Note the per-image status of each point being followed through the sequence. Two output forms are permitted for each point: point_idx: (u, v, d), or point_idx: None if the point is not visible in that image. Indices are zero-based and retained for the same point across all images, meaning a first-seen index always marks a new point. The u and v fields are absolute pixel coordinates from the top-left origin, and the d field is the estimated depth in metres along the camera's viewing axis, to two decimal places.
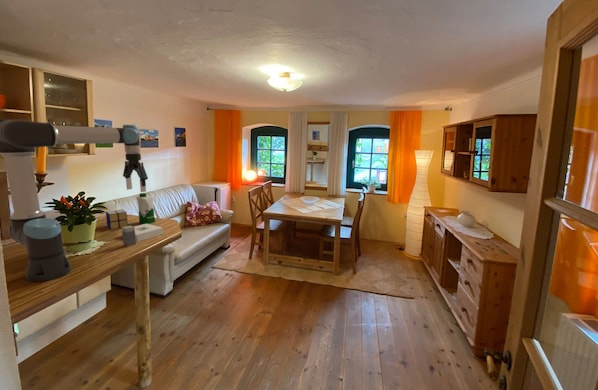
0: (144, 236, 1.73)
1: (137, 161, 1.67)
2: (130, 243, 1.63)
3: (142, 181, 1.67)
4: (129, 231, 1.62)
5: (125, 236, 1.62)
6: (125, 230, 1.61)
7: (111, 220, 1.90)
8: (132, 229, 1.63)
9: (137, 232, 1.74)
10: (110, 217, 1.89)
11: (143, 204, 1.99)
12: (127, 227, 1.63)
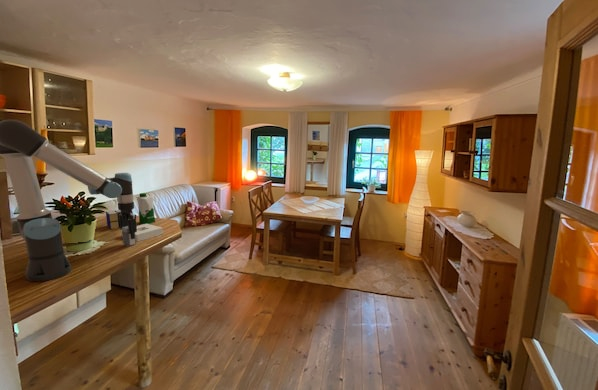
0: (144, 236, 1.73)
1: (130, 210, 1.60)
2: None
3: (131, 234, 1.62)
4: None
5: (125, 236, 1.62)
6: (125, 230, 1.61)
7: (111, 220, 1.90)
8: None
9: (137, 232, 1.74)
10: (110, 217, 1.89)
11: (143, 204, 1.99)
12: (127, 227, 1.63)
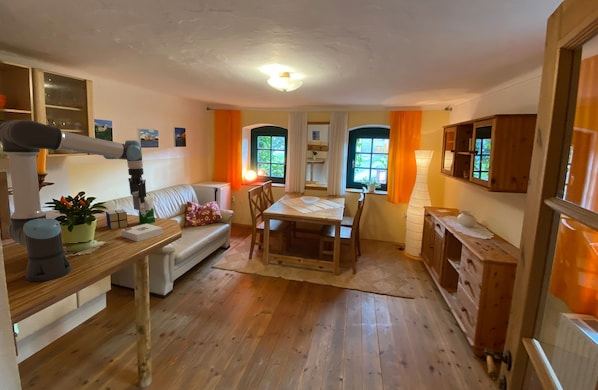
0: (144, 236, 1.73)
1: (140, 176, 1.70)
2: None
3: (141, 198, 1.72)
4: None
5: (135, 200, 1.73)
6: (135, 194, 1.72)
7: (111, 220, 1.90)
8: None
9: (137, 232, 1.74)
10: (110, 217, 1.89)
11: None
12: (137, 192, 1.74)
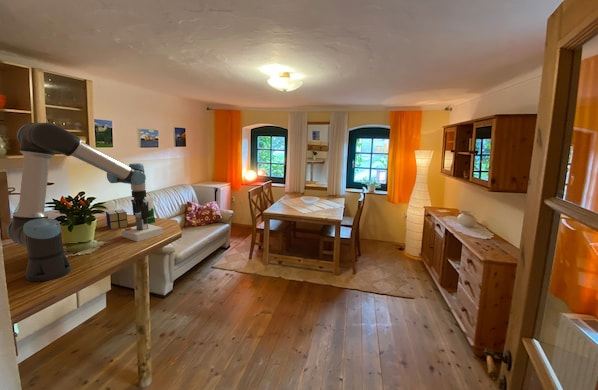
0: (144, 236, 1.73)
1: (143, 198, 1.74)
2: None
3: (143, 219, 1.77)
4: None
5: (138, 221, 1.77)
6: (138, 216, 1.76)
7: (111, 220, 1.90)
8: None
9: (137, 232, 1.74)
10: (110, 217, 1.89)
11: None
12: (140, 213, 1.78)
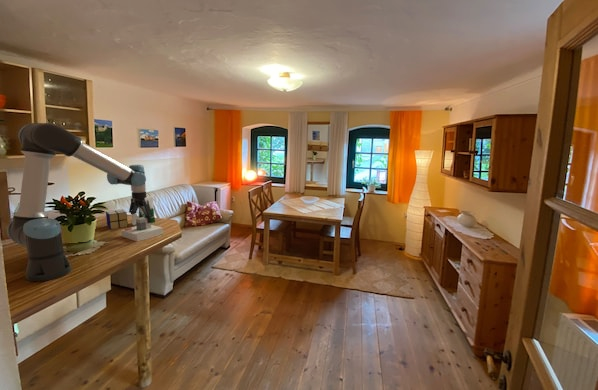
0: (144, 236, 1.73)
1: (143, 199, 1.75)
2: None
3: (147, 218, 1.74)
4: (142, 222, 1.78)
5: (139, 226, 1.78)
6: (139, 221, 1.77)
7: (111, 220, 1.90)
8: (145, 220, 1.79)
9: (137, 232, 1.74)
10: (110, 217, 1.89)
11: None
12: (140, 218, 1.78)
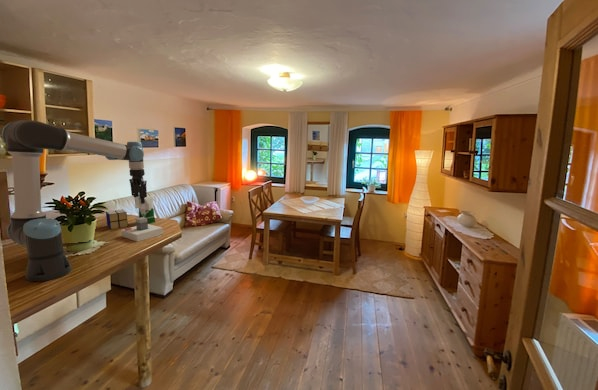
0: (144, 236, 1.73)
1: (141, 177, 1.72)
2: None
3: (141, 199, 1.74)
4: (142, 222, 1.78)
5: (139, 226, 1.78)
6: (139, 221, 1.77)
7: (111, 220, 1.90)
8: (145, 220, 1.79)
9: (137, 232, 1.74)
10: (110, 217, 1.89)
11: None
12: (140, 218, 1.78)
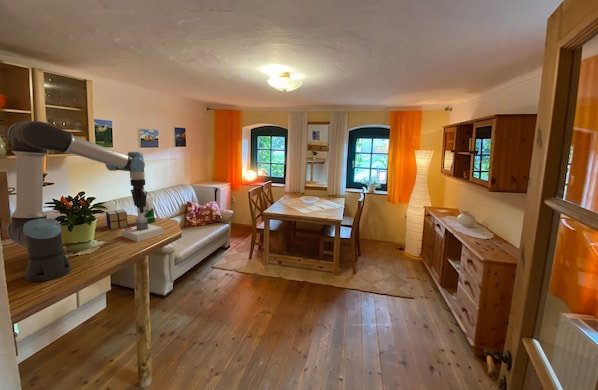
0: (144, 236, 1.73)
1: (142, 186, 1.73)
2: None
3: (140, 208, 1.76)
4: (142, 222, 1.78)
5: (139, 226, 1.78)
6: (139, 221, 1.77)
7: (111, 220, 1.90)
8: (145, 220, 1.79)
9: (137, 232, 1.74)
10: (110, 217, 1.89)
11: None
12: None
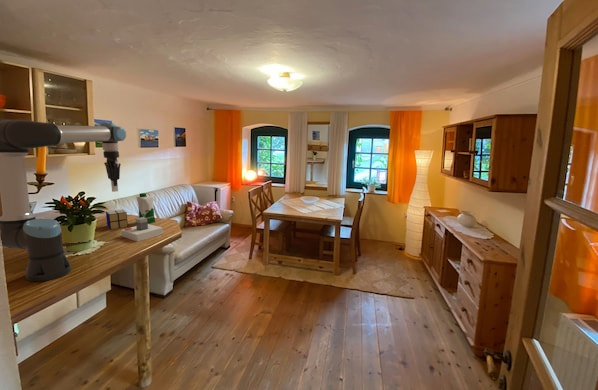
0: (144, 236, 1.73)
1: (115, 158, 1.71)
2: None
3: (114, 181, 1.74)
4: (142, 222, 1.78)
5: (139, 226, 1.78)
6: (139, 221, 1.77)
7: (111, 220, 1.90)
8: (145, 220, 1.79)
9: (137, 232, 1.74)
10: (110, 217, 1.89)
11: (143, 204, 1.99)
12: (140, 218, 1.78)
